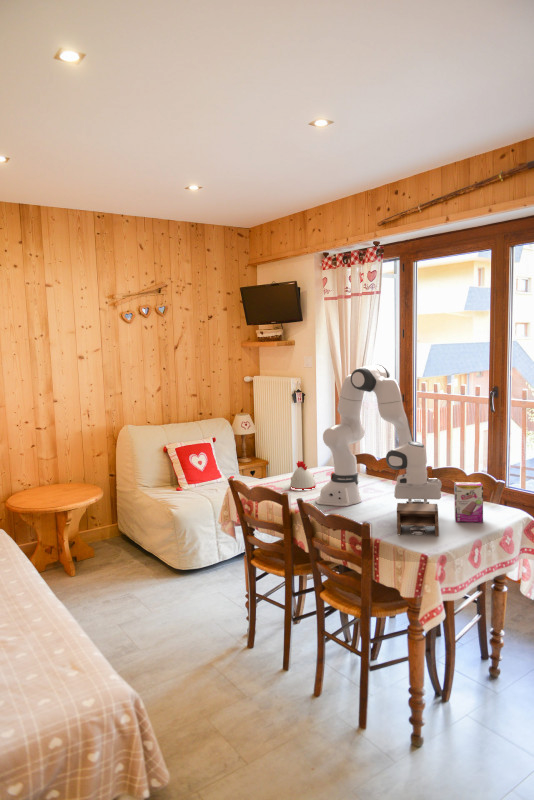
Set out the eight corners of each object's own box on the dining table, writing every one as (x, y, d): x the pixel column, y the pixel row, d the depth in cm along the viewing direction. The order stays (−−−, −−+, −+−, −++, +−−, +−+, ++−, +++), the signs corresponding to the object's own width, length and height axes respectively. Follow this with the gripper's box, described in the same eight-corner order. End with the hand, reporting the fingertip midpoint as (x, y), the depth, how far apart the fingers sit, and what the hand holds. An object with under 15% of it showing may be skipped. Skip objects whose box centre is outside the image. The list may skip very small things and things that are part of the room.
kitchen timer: (304, 483, 309) (303, 457, 308) (320, 487, 298) (319, 460, 296) (285, 488, 301) (284, 461, 300) (301, 492, 290) (299, 465, 288)
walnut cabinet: (397, 534, 220) (396, 510, 219) (398, 526, 230) (397, 502, 229) (438, 536, 216) (438, 511, 215) (437, 527, 225) (437, 503, 224)
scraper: (406, 526, 229) (405, 512, 228) (406, 511, 248) (406, 499, 247) (430, 527, 226) (430, 513, 226) (429, 512, 245) (429, 499, 244)
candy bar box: (455, 522, 230) (454, 484, 229) (454, 518, 235) (453, 481, 233) (483, 523, 228) (483, 484, 226) (482, 519, 232) (481, 481, 231)
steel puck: (410, 535, 220) (410, 531, 219) (410, 530, 225) (410, 526, 225) (425, 535, 218) (425, 532, 218) (425, 530, 224) (425, 527, 224)
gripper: (441, 476, 242) (441, 506, 244) (394, 476, 248) (395, 505, 249) (441, 480, 236) (442, 511, 238) (393, 479, 242) (394, 510, 243)
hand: (417, 508), depth 243 cm, fingers closed on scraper, 3 cm apart
